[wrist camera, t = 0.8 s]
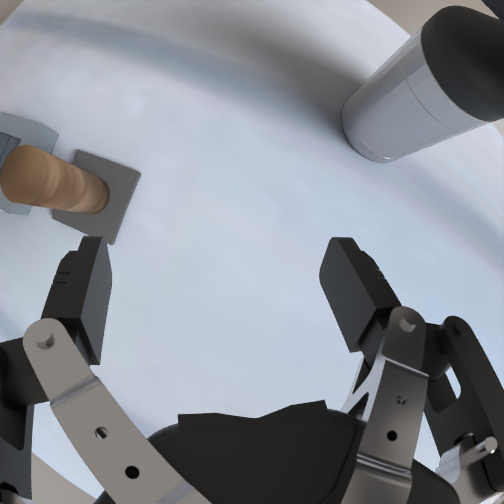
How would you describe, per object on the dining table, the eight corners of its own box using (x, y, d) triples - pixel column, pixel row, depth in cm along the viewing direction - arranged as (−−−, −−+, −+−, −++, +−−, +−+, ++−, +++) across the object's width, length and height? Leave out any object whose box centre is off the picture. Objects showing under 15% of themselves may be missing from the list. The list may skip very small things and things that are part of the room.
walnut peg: (85, 172, 31) (13, 138, 17) (115, 183, 31) (52, 152, 17) (71, 207, 31) (-7, 192, 17) (101, 219, 31) (30, 211, 17)
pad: (81, 151, 31) (78, 149, 30) (141, 173, 32) (139, 172, 31) (55, 218, 31) (51, 218, 31) (113, 244, 32) (111, 244, 31)
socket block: (6, 117, 30) (-11, 108, 26) (58, 134, 31) (42, 124, 27) (-21, 190, 30) (-41, 186, 26) (27, 215, 31) (8, 213, 27)
